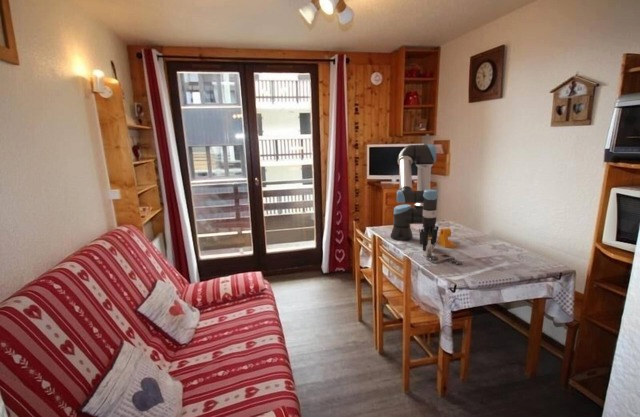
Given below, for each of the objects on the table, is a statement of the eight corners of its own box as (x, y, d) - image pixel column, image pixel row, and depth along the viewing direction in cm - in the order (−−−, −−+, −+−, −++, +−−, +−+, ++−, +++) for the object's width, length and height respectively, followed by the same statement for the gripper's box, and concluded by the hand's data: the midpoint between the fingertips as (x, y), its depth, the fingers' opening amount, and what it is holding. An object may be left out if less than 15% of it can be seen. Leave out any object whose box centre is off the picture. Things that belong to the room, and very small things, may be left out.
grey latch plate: (436, 259, 186) (436, 256, 186) (445, 257, 189) (445, 254, 189) (456, 268, 173) (456, 264, 173) (465, 265, 176) (466, 262, 176)
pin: (422, 257, 190) (423, 236, 187) (427, 255, 192) (428, 235, 189) (427, 259, 187) (428, 238, 184) (432, 258, 188) (433, 236, 185)
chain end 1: (445, 255, 189) (445, 252, 188) (454, 259, 183) (455, 255, 182) (425, 259, 182) (425, 256, 182) (434, 264, 176) (434, 260, 176)
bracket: (456, 248, 202) (457, 230, 200) (444, 249, 202) (446, 231, 199) (448, 243, 213) (449, 226, 210) (437, 244, 213) (438, 226, 210)
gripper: (423, 219, 177) (421, 259, 182) (444, 216, 184) (442, 254, 189) (414, 217, 184) (412, 255, 189) (435, 213, 190) (433, 251, 196)
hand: (427, 255), depth 189 cm, fingers closed on pin, 3 cm apart
